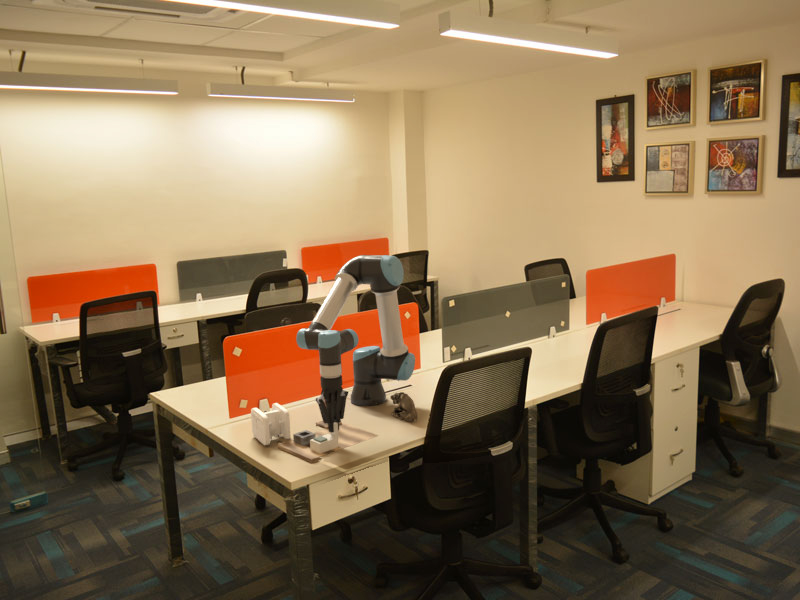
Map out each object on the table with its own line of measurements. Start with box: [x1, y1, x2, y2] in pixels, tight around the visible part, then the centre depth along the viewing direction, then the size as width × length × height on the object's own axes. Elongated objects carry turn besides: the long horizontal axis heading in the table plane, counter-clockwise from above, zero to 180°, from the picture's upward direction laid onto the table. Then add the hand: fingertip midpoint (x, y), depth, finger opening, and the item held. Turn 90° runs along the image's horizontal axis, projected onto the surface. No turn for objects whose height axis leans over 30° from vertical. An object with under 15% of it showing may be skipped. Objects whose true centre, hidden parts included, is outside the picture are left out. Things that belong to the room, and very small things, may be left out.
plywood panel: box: [277, 422, 379, 464], centre depth 247 cm, size 30×20×4 cm, turn 133°
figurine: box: [390, 391, 418, 422], centre depth 271 cm, size 6×14×10 cm, turn 29°
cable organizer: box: [250, 402, 292, 446], centre depth 252 cm, size 15×11×12 cm
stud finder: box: [310, 434, 338, 453], centre depth 239 cm, size 8×6×4 cm
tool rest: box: [315, 420, 343, 429], centre depth 263 cm, size 7×7×2 cm
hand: (334, 440), depth 242 cm, fingers closed
